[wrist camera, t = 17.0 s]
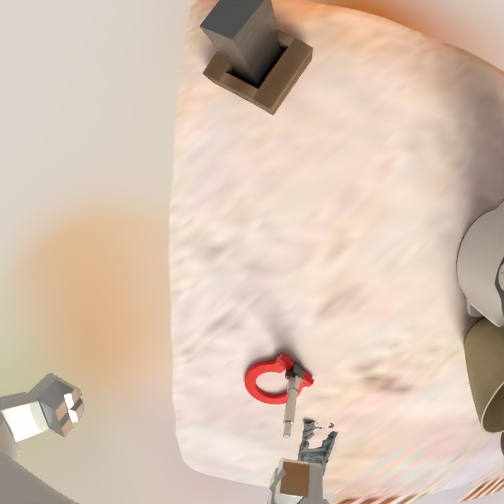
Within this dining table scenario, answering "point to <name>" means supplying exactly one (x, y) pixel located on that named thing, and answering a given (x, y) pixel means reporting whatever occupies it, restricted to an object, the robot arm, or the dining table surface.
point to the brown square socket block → (276, 82)
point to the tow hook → (294, 387)
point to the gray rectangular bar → (245, 37)
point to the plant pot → (486, 373)
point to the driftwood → (319, 453)
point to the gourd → (502, 442)
